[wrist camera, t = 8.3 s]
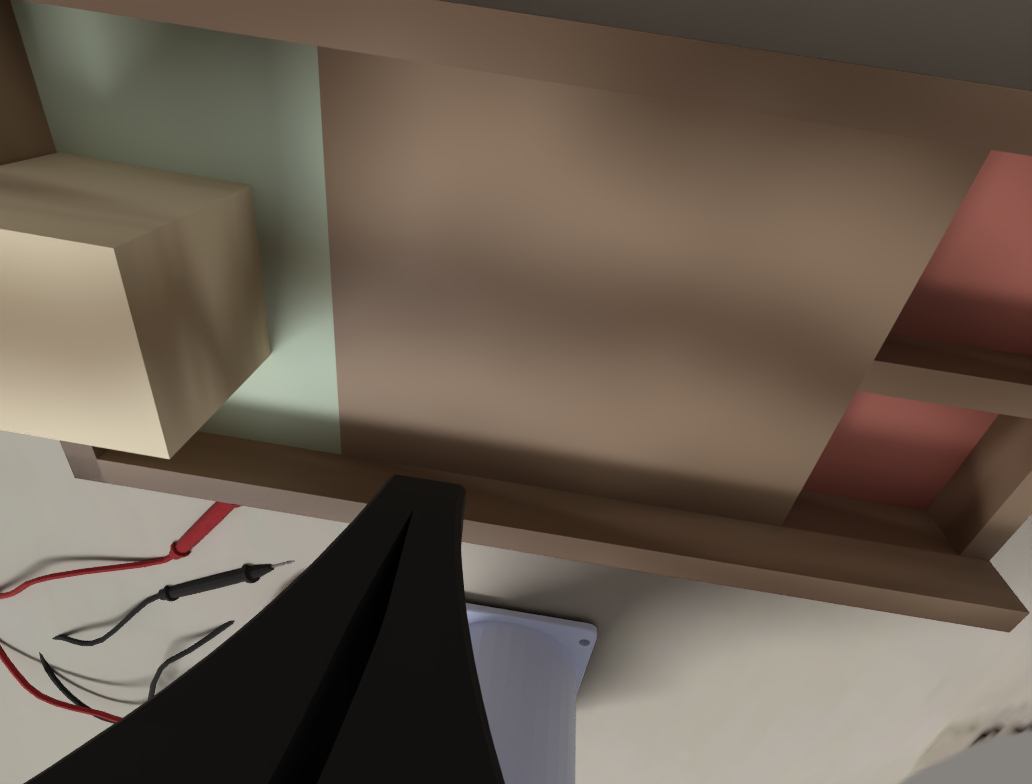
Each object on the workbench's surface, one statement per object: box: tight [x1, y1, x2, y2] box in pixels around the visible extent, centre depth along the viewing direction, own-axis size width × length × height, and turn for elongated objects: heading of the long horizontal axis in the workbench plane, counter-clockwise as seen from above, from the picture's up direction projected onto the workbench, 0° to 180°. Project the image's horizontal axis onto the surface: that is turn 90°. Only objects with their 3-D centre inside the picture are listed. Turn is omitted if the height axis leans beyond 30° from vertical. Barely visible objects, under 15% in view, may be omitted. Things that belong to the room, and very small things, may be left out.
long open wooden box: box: [0, 0, 1032, 632], centre depth 16 cm, size 14×30×4 cm, turn 83°
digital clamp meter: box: [0, 501, 294, 723], centre depth 31 cm, size 23×4×25 cm
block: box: [0, 152, 271, 459], centre depth 13 cm, size 5×5×5 cm
